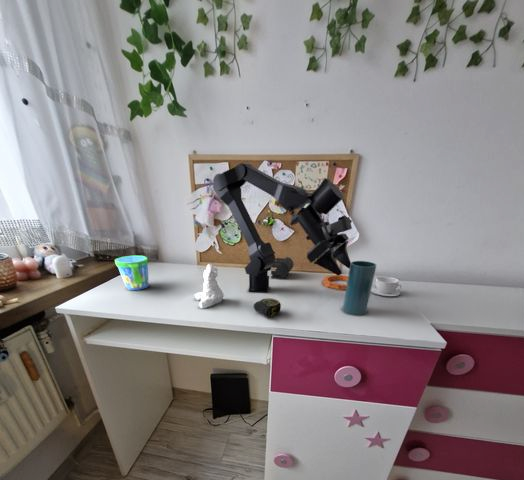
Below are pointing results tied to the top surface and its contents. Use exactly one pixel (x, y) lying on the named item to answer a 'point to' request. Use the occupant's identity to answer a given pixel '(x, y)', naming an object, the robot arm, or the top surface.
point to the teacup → (386, 286)
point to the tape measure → (268, 307)
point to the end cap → (282, 267)
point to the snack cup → (133, 271)
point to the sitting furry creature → (210, 289)
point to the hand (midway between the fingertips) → (345, 270)
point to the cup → (358, 287)
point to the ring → (334, 285)
